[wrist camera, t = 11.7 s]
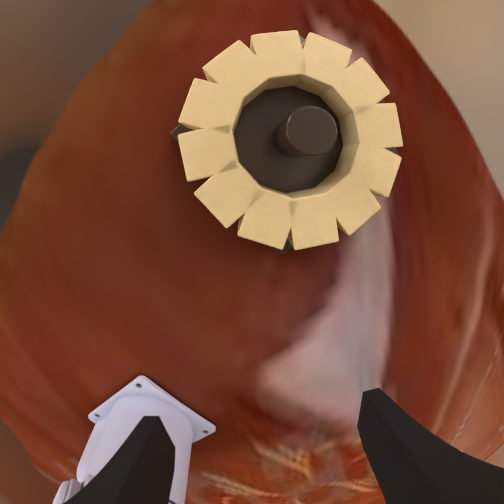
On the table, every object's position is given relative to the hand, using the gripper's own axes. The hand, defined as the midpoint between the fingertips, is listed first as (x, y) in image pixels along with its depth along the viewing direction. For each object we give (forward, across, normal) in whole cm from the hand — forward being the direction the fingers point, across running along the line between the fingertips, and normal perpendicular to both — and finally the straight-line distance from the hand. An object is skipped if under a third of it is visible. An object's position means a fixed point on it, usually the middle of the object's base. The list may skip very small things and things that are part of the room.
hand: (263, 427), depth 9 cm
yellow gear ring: (+9, -3, -10) cm, 13 cm away
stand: (+10, -3, -10) cm, 14 cm away
